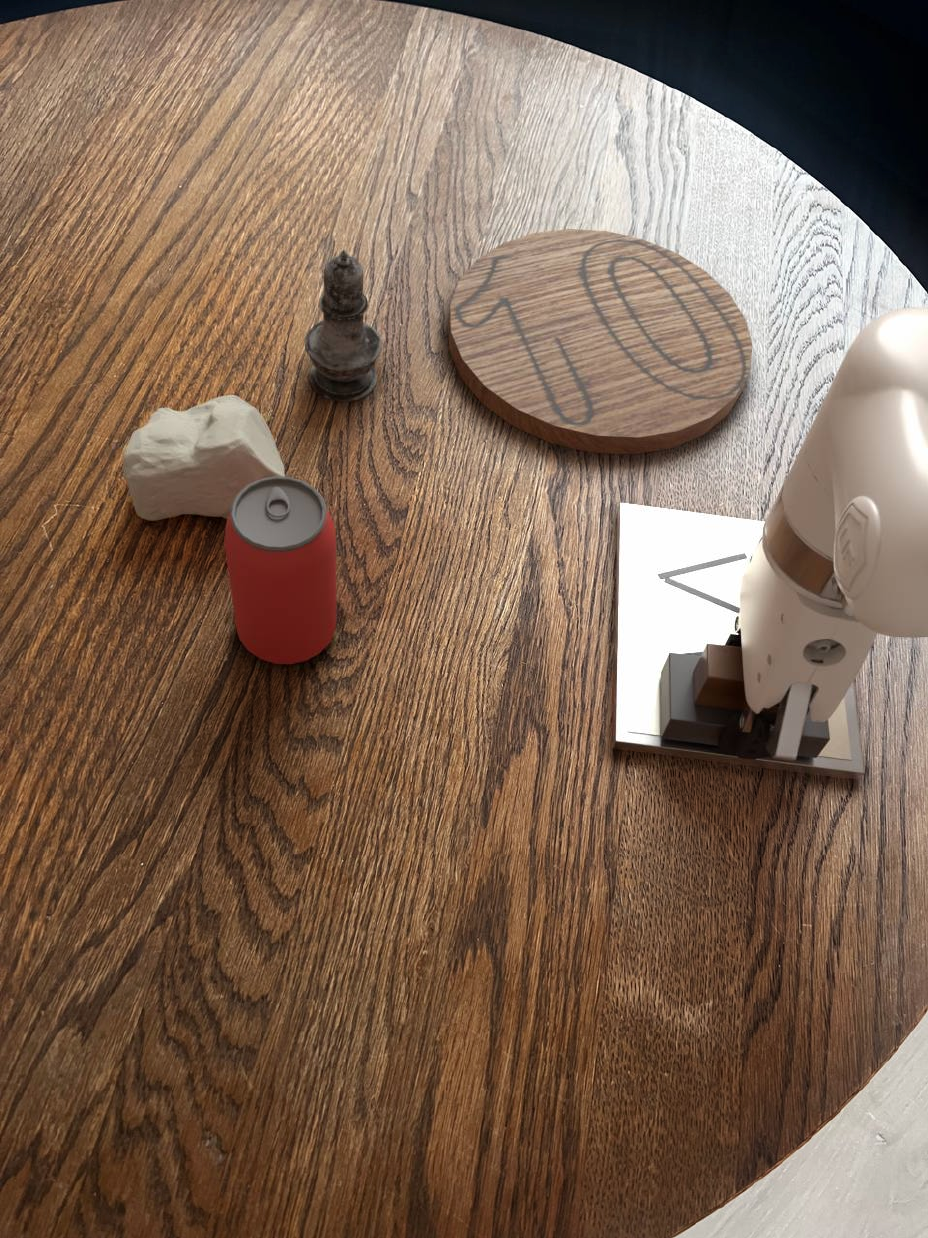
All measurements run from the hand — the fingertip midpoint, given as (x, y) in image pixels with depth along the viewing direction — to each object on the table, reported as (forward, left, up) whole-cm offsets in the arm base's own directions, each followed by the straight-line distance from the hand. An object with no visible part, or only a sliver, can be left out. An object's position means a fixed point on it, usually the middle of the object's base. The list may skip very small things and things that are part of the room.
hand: (740, 710), depth 72 cm
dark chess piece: (+27, +30, -2) cm, 40 cm away
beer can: (+3, +30, -2) cm, 30 cm away
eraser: (0, 0, -1) cm, 1 cm away
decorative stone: (+15, +38, -2) cm, 41 cm away
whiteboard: (+7, 0, -2) cm, 7 cm away
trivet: (+35, +10, -2) cm, 36 cm away
